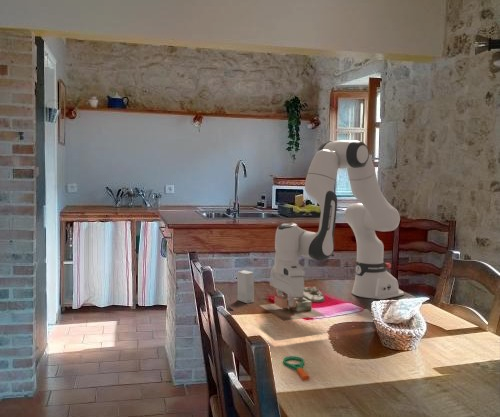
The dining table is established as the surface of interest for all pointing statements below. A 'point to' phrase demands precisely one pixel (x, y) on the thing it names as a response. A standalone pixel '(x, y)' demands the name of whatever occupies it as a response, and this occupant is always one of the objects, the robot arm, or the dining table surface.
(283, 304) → the chunky salmon square frame
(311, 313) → the wooden peg board
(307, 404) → the dining table surface
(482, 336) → the dining table surface
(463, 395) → the dining table surface
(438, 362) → the dining table surface
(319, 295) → the long grey stone
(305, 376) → the magnifying glass
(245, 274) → the skincare box
